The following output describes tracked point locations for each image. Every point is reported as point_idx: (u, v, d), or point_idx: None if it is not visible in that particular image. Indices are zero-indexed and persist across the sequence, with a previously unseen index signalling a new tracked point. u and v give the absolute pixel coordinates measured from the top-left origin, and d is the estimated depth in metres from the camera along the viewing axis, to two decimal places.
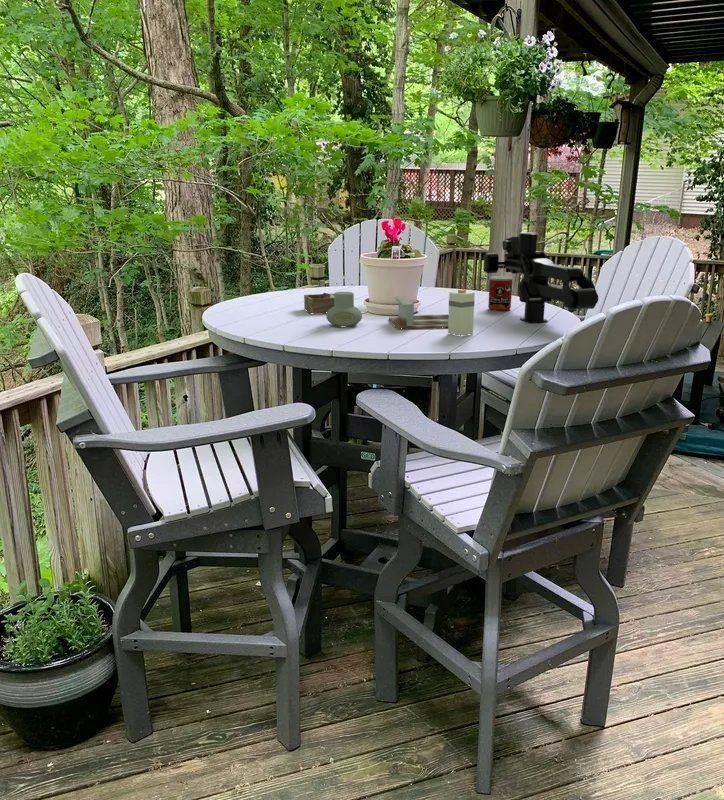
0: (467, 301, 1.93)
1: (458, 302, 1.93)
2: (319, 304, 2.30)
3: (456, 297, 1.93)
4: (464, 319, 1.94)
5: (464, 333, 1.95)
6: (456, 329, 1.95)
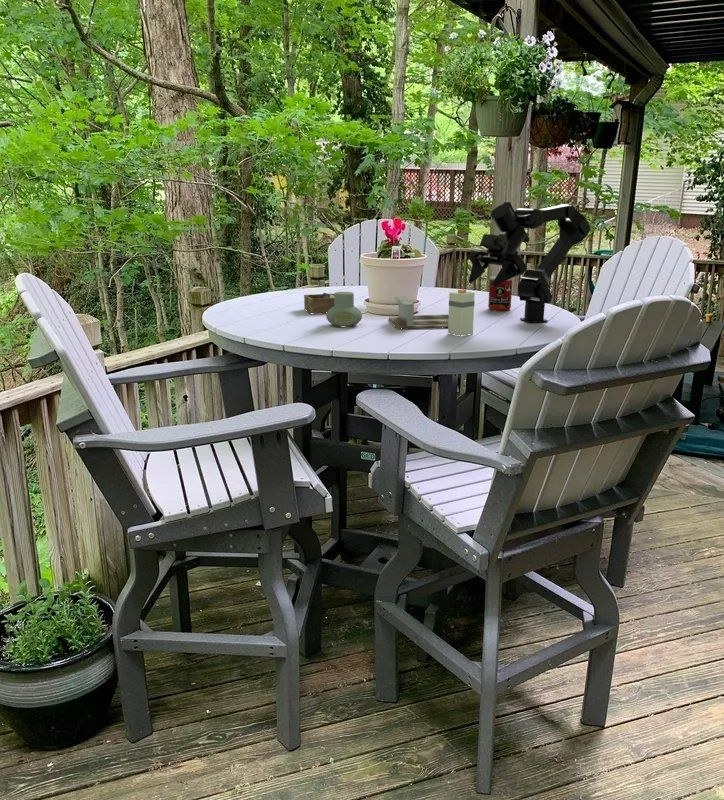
0: (467, 301, 1.93)
1: (458, 302, 1.93)
2: (319, 304, 2.30)
3: (456, 297, 1.93)
4: (464, 319, 1.94)
5: (464, 333, 1.95)
6: (456, 329, 1.95)
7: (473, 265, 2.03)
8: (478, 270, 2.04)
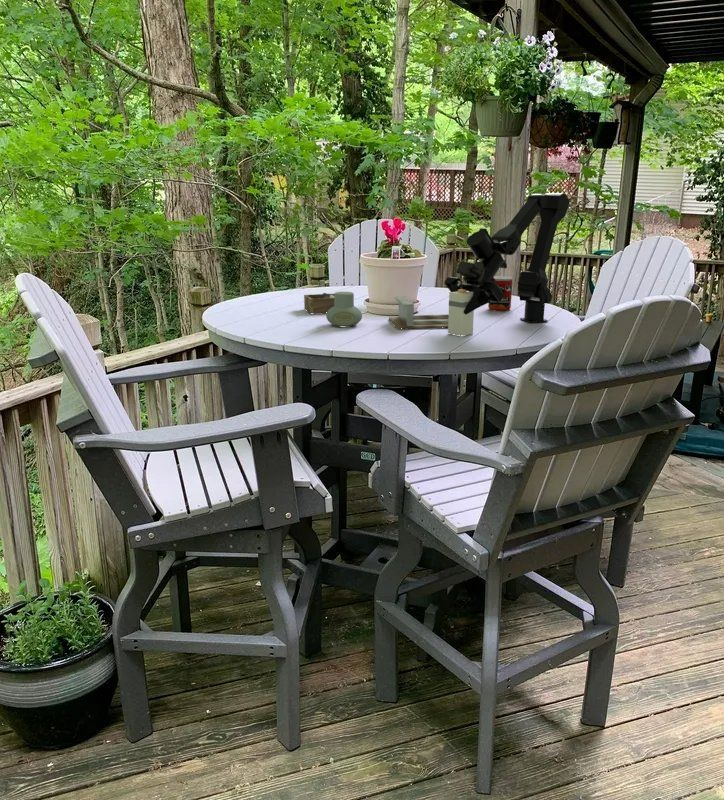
0: (467, 301, 1.93)
1: (458, 302, 1.93)
2: (319, 304, 2.30)
3: (456, 297, 1.93)
4: (464, 319, 1.94)
5: (464, 333, 1.95)
6: (456, 328, 1.95)
7: None
8: None
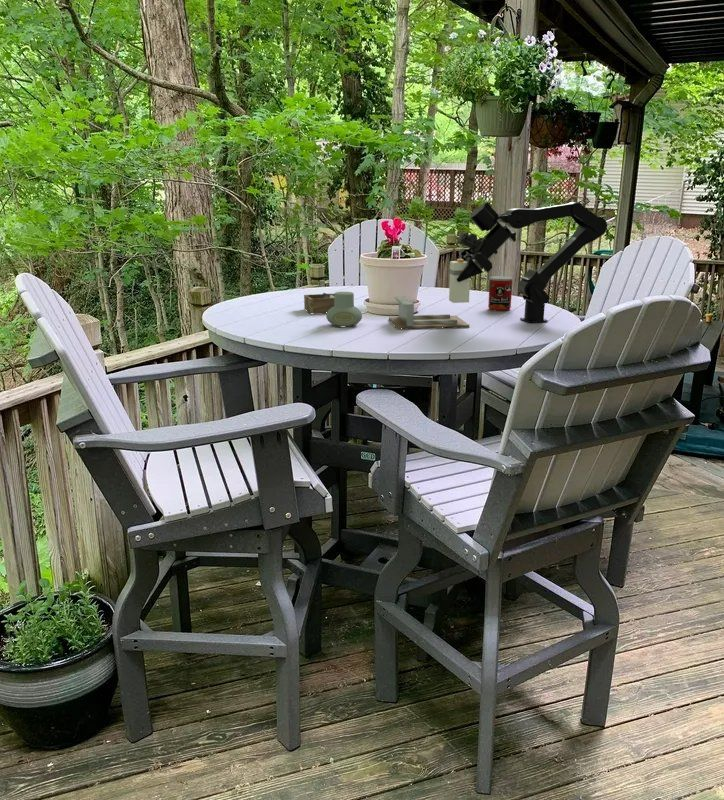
0: (461, 270, 2.07)
1: (452, 270, 2.08)
2: (319, 304, 2.30)
3: (452, 265, 2.09)
4: (458, 286, 2.09)
5: (458, 300, 2.10)
6: (451, 295, 2.11)
7: None
8: None
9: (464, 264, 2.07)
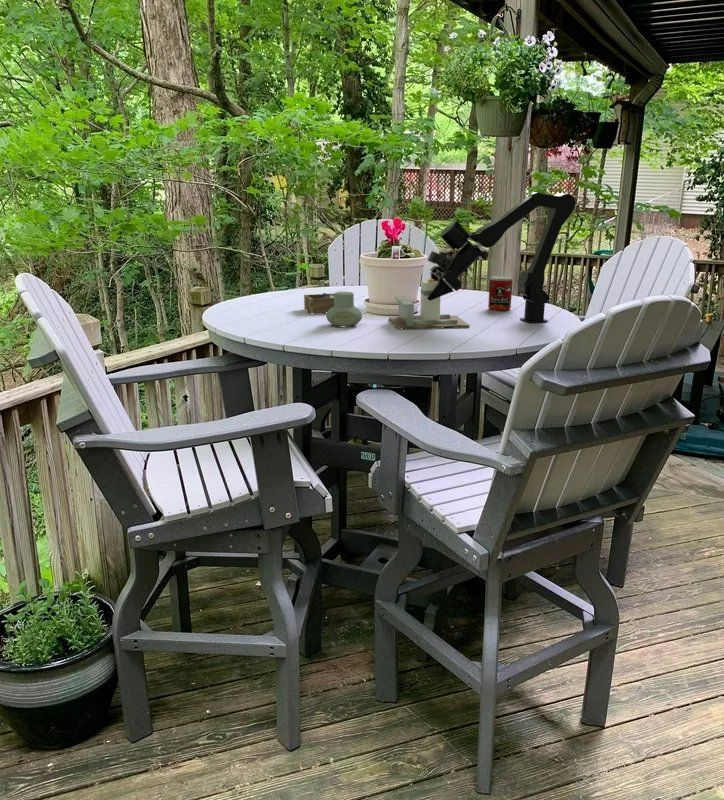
0: (431, 290, 2.08)
1: (423, 290, 2.09)
2: (319, 304, 2.30)
3: (423, 285, 2.10)
4: (428, 306, 2.10)
5: (428, 319, 2.11)
6: (422, 315, 2.12)
7: None
8: None
9: (434, 284, 2.08)
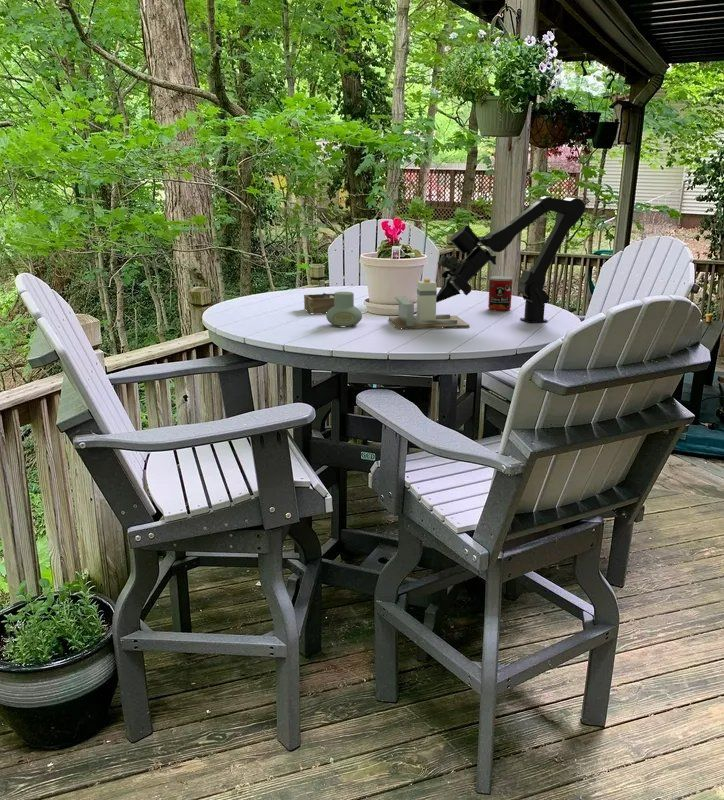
0: (427, 290, 2.08)
1: (419, 290, 2.09)
2: (319, 304, 2.30)
3: (419, 285, 2.09)
4: (424, 306, 2.09)
5: (424, 319, 2.11)
6: (418, 315, 2.12)
7: (442, 285, 2.12)
8: None
9: (430, 284, 2.08)
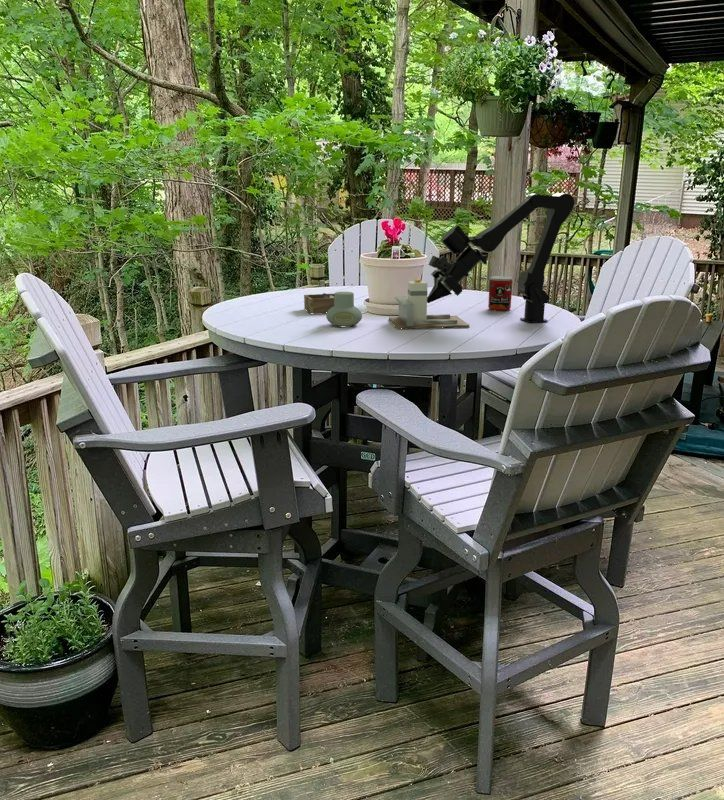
0: (418, 290, 2.08)
1: (410, 290, 2.09)
2: (319, 304, 2.30)
3: (409, 285, 2.09)
4: (415, 306, 2.09)
5: (415, 320, 2.10)
6: None
7: (434, 286, 2.12)
8: None
9: (421, 285, 2.07)
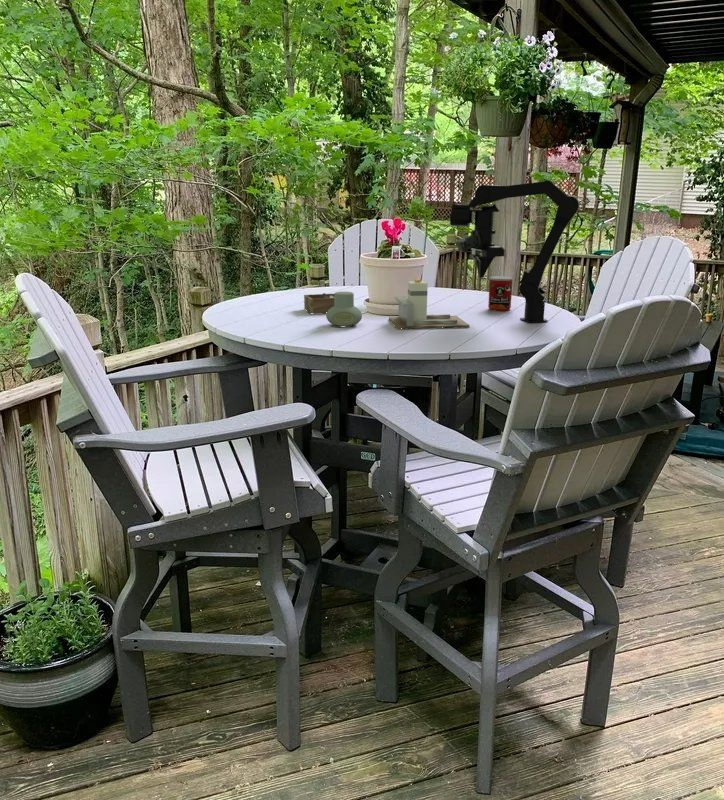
0: (418, 290, 2.08)
1: (410, 290, 2.09)
2: (319, 304, 2.30)
3: (409, 285, 2.09)
4: (415, 306, 2.09)
5: (415, 320, 2.10)
6: None
7: (475, 260, 2.18)
8: None
9: (421, 285, 2.07)
